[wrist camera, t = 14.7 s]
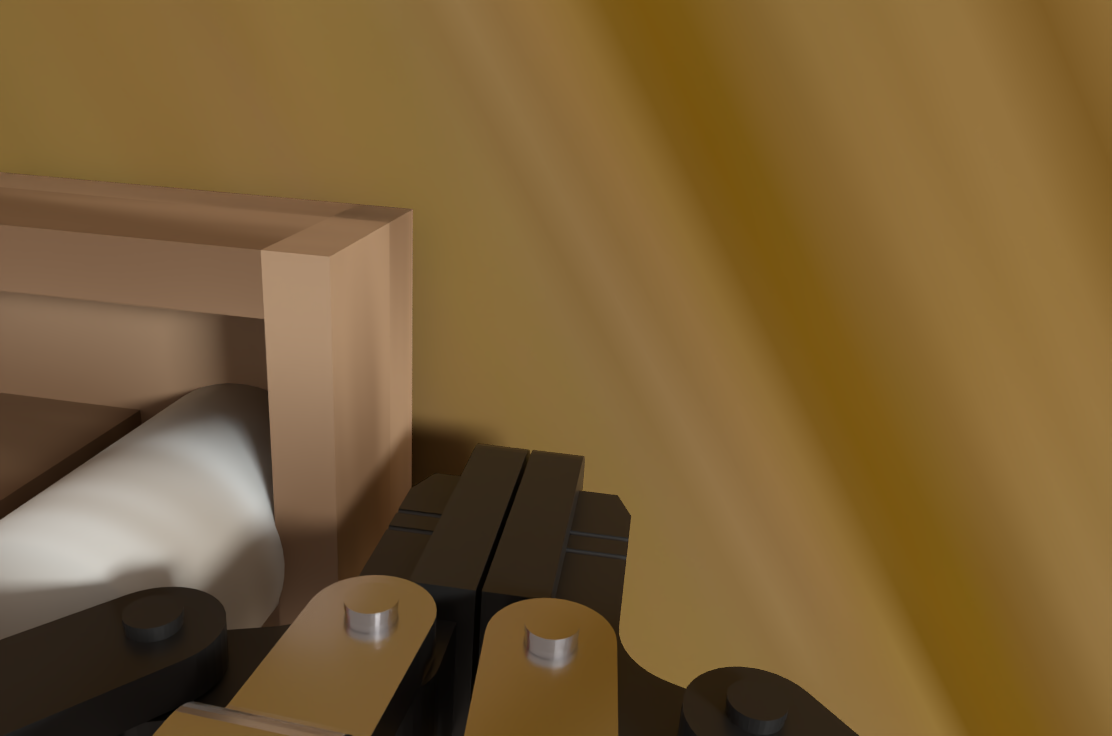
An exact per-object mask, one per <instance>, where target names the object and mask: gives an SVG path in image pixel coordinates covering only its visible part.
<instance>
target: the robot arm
mask: <svg viewBox="0 0 1112 736" xmlns="http://www.w3.org/2000/svg"><path fill="white" fill-rule="evenodd" d="M584 463H585V458H584V456H578V455H570V454H562V453H553V452H545V451H537V450H533V451H532V453H531V455H530V451H529V450H527V449H519V448H510V447H502V446H494V445H485V444H477V445H476V447H475V449H474V451H473V453H472V455H471V457H470V459H469V461H468V463H467V465H466V467H465V469H464V471H463V473H462V475H461V476H455V475H447V474H439V473H435V474H433V475H432V476H430V477H428V478H427V479H425V480H423V481H422V482H420V483H419V484H417V485H415V486H414V487H412V488H411V489H410V490H409V492H408V494H407V495H406V497H405V499H404V500H403V502H402V504H401V505H400V507H399V510H398V513H396V514H395V516H394V517H393V519H392V521H391V522H390V524H389V528H388V529H386V531H385V532H384V534H383V536H382V537H381V539H380V541H379V543H378V544H377V546H376V548H375V549H374V551H373V553H372V554H371V556H370V558H369V559H368V561H367V563H366V565H365V566H364V568H363V570H362V571H361V573H360V575H359V576H358V577H353V578H349V579H345V580H341V581H339V582H336V583H334V584H332V585H330V586H328V587H326V588H324V589H323V590H321V591H320V592H319V593H317V594H316V595H315V596H314V597H313V598H312V599H311V600H310V602H309V603H308V604H307V605H306V607H305V608H304V609H303V610H302V612H301V613H300V614H299V615H298V617H297V618H296V619H295V621H294V622H293V623H292V624H288V625H281V626H273V627H259V628H245V629H232V630H227V622H226V611H225V609H224V606H223V605H222V604H221V602H220V601H219V600H218V599H216V598H215V597H214V596H212V595H210V594H208V593H206V592H204V591H200V590H197V589H192V588H187V587H159V588H151V589H146V590H141V591H137V592H134V593H131V594H127V595H125V596H122V597H119V598H116V599H113V600H110V601H108V602H105V603H102V604H99V605H96V606H94V607H91V608H88V609H85V610H82V611H80V612H77V613H74V614H71V615H68V616H66V617H63V618H60V619H57V620H54V621H51V622H49V623H46V624H43V625H40V626H37V627H35V628H32V629H29V630H26V631H23V632H21V633H18V634H15V635H12V636H9V637H7V638H4V639H1V640H0V736H859V735H858V734H856V733H855V732H854V731H853V730H852V729H850V728H849V727H848V726H847V725H846V724H845V723H843V722H842V721H841V720H840V719H839V718H837V717H836V716H835V715H834V714H833V713H831V712H830V711H829V710H828V709H827V708H826V707H824V706H823V705H822V704H821V703H820V702H818V701H817V700H816V699H815V698H814V697H813V696H811V695H810V694H809V693H808V692H806V691H805V690H804V689H802V688H801V687H800V686H798V685H797V684H795V683H793V682H791V681H790V680H788V679H786V678H783V677H781V676H779V675H777V674H774V673H771V672H767V671H764V670H760V669H755V668H747V667H725V668H718V669H714V670H711V671H708V672H706V673H704V674H701V675H700V676H698V677H697V678H695V679H694V680H693V681H692V682H691V683H690V684H689V685H688V687H687V689H685V688H682V687H680V686H677V685H675V684H672V683H669V682H667V681H665V680H662V679H660V678H658V677H656V676H654V675H653V674H651V673H649V672H647V671H646V670H645V669H643V668H642V667H641V666H639V665H638V664H637V663H636V662H635V661H634V660H633V659H632V658H631V657H630V656H629V655H628V653H627V652H626V651H625V649H624V647H623V645H622V643H621V640H620V636H619V621H620V612H621V603H622V594H623V584H624V575H625V566H626V557H627V548H628V539H629V530H630V521H631V515H630V514H629V512H628V511H627V509H626V508H625V506H624V504H623V503H622V501H621V500H620V498H619V497H618V495H610V494H602V493H594V492H586V491H582V488H583V477H584Z"/></svg>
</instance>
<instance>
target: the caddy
mask: <svg viewBox="0 0 1112 736" xmlns="http://www.w3.org/2000/svg"><path fill="white" fill-rule="evenodd" d="M412 288H413V209H405V208H394V207H382V206H371V205H360V204H349V203H338V202H326V201H315V200H304V199H293V198H282V197H270V196H259V195H248V194H237V193H225V192H214V191H203V190H192V189H181V188H169V187H158V186H147V185H136V184H125V183H113V182H102V181H91V180H80V179H69V178H57V177H46V176H35V175H24V174H13V173H1V172H0V640H1V639H4V638H7V637H9V636H12V635H15V634H18V633H21V632H23V631H26V630H29V629H32V628H35V627H37V626H40V625H43V624H46V623H49V622H51V621H54V620H57V619H60V618H63V617H66V616H68V615H71V614H74V613H77V612H80V611H82V610H85V609H88V608H91V607H94V606H96V605H99V604H102V603H105V602H108V601H110V600H113V599H116V598H119V597H122V596H125V595H127V594H131V593H134V592H137V591H141V590H146V589H151V588H159V587H187V588H192V589H197V590H200V591H204V592H206V593H208V594H210V595H212V596H214V597H215V598H216V599H218V600H219V601H220V602H221V604H222V605H223V606H224V609H225V611H226V622H227V630H232V629H245V628H259V627H273V626H281V625H288V624H292V623H293V622H294V621H295V619H296V618H297V617H298V615H299V614H300V613H301V612H302V610H303V609H304V608H305V607H306V605H307V604H308V603H309V602H310V600H311V599H312V598H313V597H314V596H315V595H316V594H317V593H319V592H320V591H321V590H323V589H324V588H326V587H328V586H330V585H332V584H334V583H336V582H339V581H341V580H345V579H349V578H353V577H358V576H359V575H360V573H361V571H362V570H363V568H364V566H365V565H366V563H367V561H368V559H369V558H370V556H371V554H372V553H373V551H374V549H375V548H376V546H377V544H378V543H379V541H380V539H381V537H382V536H383V534H384V532H385V531H386V529H388V528H389V524H390V522H391V521H392V519H393V517H394V516H395V514H396V513H398V510H399V507H400V505H401V504H402V502H403V500H404V499H405V497H406V495H407V494H408V492H409V490H410V489H411V488H412Z"/></svg>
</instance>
